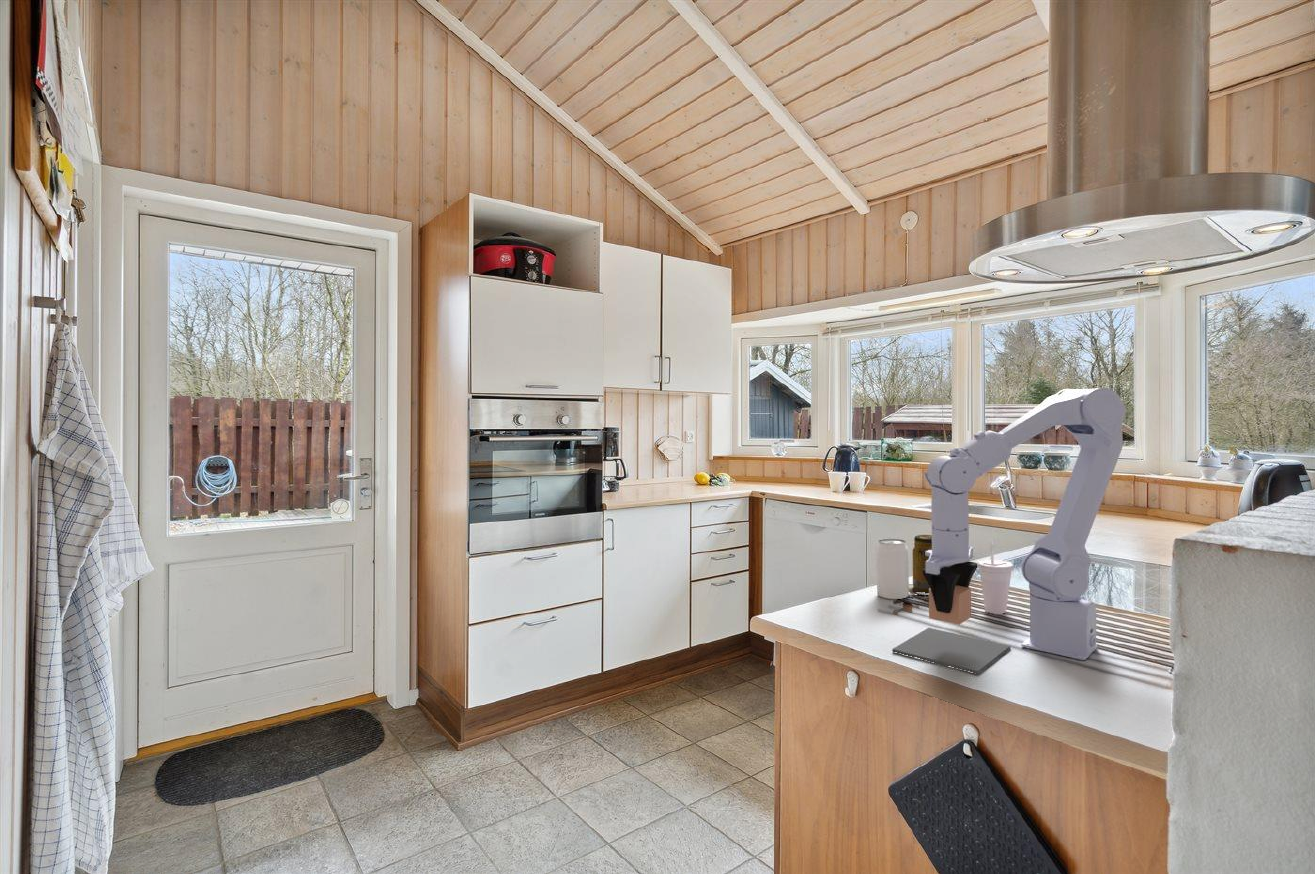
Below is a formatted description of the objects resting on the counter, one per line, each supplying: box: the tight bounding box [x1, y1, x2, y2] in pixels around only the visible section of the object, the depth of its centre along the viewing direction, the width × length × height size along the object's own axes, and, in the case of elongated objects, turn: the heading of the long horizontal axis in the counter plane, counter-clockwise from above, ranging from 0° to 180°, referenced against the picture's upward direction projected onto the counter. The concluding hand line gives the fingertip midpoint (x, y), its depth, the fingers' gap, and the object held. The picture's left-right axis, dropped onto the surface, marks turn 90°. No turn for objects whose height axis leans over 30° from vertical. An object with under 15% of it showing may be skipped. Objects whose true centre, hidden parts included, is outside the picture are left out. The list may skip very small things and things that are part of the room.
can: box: [876, 538, 910, 601], centre depth 145 cm, size 6×6×12 cm
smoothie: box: [977, 540, 1015, 615], centre depth 133 cm, size 6×6×14 cm
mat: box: [891, 627, 1011, 675], centre depth 114 cm, size 14×14×1 cm
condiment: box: [909, 534, 932, 596], centre depth 148 cm, size 7×8×12 cm
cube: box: [928, 586, 972, 626], centre depth 114 cm, size 5×5×5 cm
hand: (950, 607), depth 114 cm, fingers closed on cube, 5 cm apart
